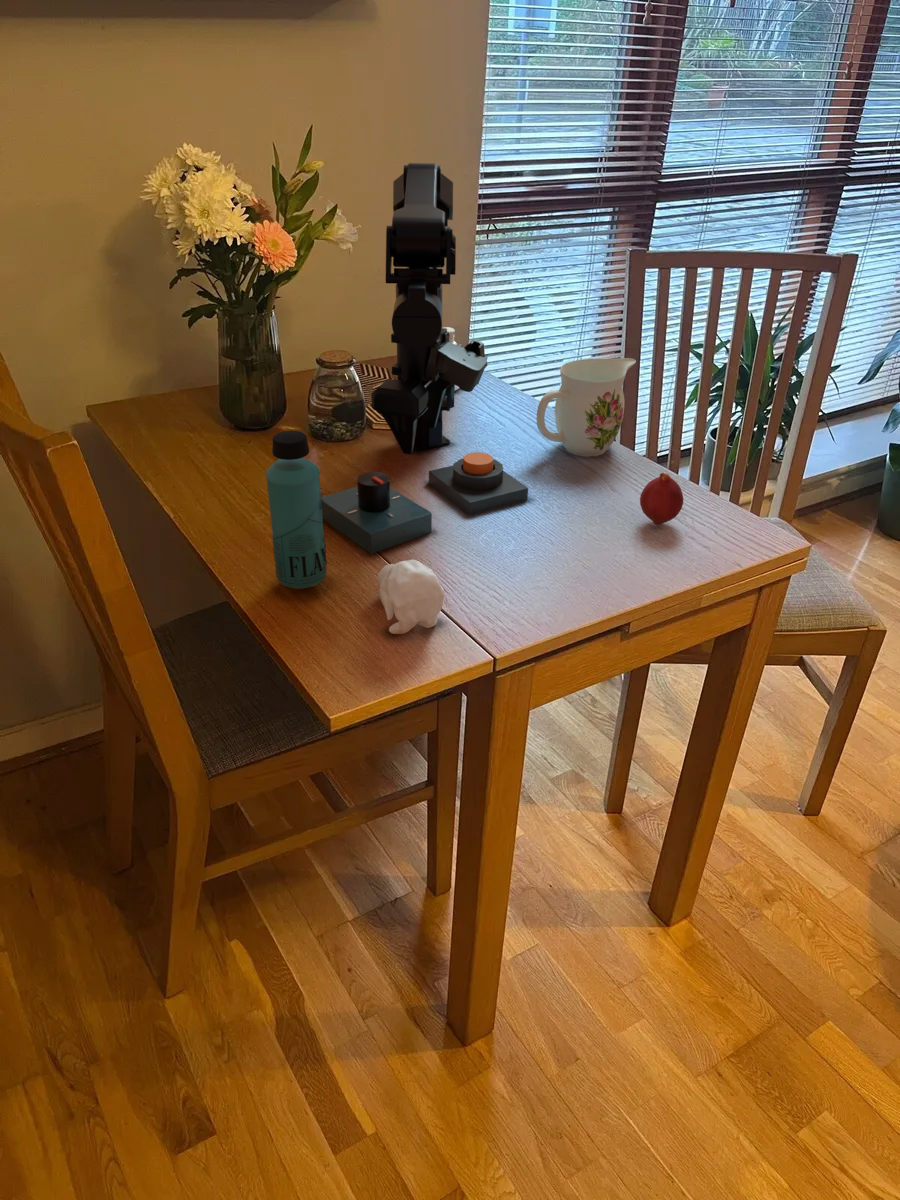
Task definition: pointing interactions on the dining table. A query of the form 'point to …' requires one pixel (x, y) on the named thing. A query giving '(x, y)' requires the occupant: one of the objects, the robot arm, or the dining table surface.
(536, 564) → the dining table surface
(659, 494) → the onion
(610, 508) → the dining table surface
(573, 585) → the dining table surface
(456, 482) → the button base
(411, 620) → the white lumpy figure
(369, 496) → the dial
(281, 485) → the beverage bottle
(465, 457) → the button
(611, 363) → the pitcher
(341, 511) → the dial console
